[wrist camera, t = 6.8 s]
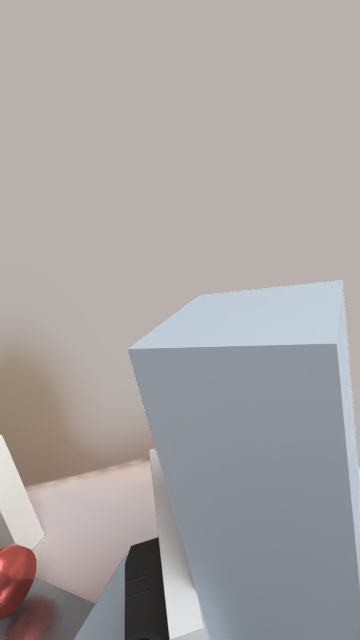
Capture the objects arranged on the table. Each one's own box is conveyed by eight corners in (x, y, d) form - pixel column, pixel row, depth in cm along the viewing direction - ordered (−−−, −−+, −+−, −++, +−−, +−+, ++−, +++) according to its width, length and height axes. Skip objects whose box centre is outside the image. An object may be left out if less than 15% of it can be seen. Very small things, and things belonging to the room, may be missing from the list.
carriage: (87, 759, 14) (-111, 367, 9) (150, 622, 18) (41, 307, 13) (406, 998, 9) (359, 373, 4) (388, 725, 13) (354, 270, 8)
